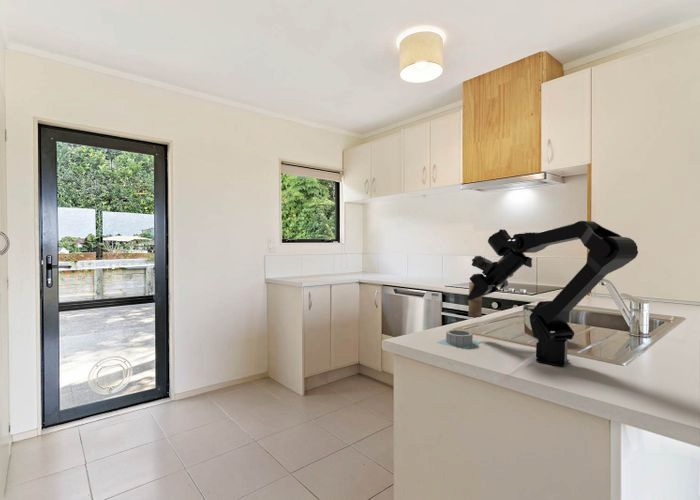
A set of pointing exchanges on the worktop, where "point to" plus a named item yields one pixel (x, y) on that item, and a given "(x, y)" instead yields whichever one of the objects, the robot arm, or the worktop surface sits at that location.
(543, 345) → the robot arm
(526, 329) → the food container
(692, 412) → the worktop surface
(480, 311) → the walnut peg
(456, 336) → the ring stand
